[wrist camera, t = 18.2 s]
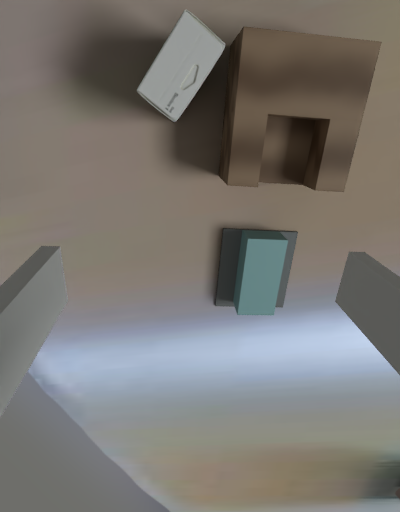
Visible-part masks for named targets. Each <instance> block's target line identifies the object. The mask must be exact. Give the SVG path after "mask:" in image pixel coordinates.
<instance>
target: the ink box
mask: <svg viewBox="0 0 400 512" xmlns="http://www.w3.org/2000/svg"><path fill="white" fill-rule="evenodd" d="M224 48H225V43H224V42H223V41H222V40H221V39H220V38H219V37H218V36H216V35H215V34H214V33H213V32H212V31H211V30H210V29H209V28H208V27H207V26H206V25H205V24H204V23H203V22H202V21H200V20H199V19H198V18H197V17H196V16H194V15H193V14H192V13H190V12H189V11H188V10H184V12H183V14H182V15H181V17H180V19H179V20H178V22H177V23H176V25H175V27H174V28H173V30H172V32H171V33H170V35H169V37H168V38H167V40H166V42H165V43H164V45H163V47H162V48H161V50H160V52H159V53H158V55H157V57H156V58H155V60H154V62H153V63H152V65H151V66H150V68H149V70H148V71H147V73H146V75H145V76H144V78H143V80H142V81H141V83H140V85H139V87H138V89H137V92H138V93H139V94H140V95H141V96H142V97H143V98H144V99H145V100H146V101H148V102H149V103H150V104H151V105H152V106H153V107H155V108H156V109H157V110H158V111H160V112H161V113H162V114H163V115H165V116H166V117H167V118H169V119H170V120H172V121H173V122H175V121H177V120H178V118H179V117H180V116H181V114H182V113H183V112H184V110H185V109H186V108H187V106H188V105H189V103H190V102H191V100H192V99H193V97H194V96H195V94H196V93H197V91H198V90H199V88H200V87H201V85H202V84H203V82H204V81H205V79H206V78H207V76H208V75H209V73H210V71H211V70H212V68H213V66H214V65H215V63H216V62H217V60H218V58H219V57H220V56H221V54H222V52H223V50H224Z"/></svg>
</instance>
